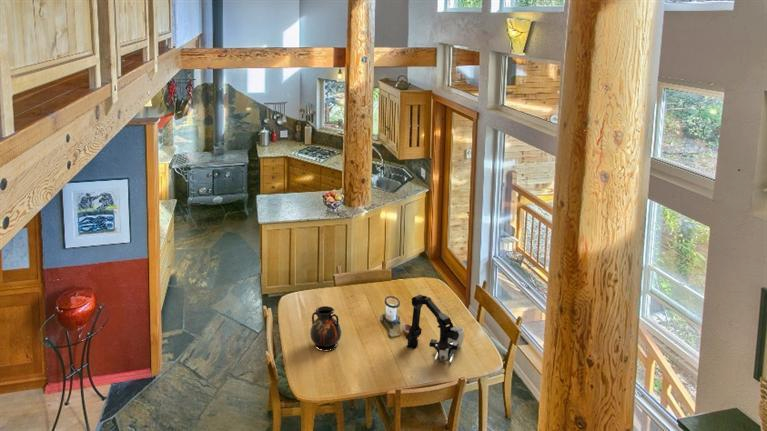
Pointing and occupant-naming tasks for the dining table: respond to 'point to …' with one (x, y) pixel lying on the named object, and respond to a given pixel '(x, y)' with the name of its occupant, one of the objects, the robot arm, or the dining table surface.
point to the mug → (461, 335)
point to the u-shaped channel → (448, 357)
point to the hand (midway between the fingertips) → (443, 355)
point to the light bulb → (443, 354)
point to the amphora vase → (325, 329)
